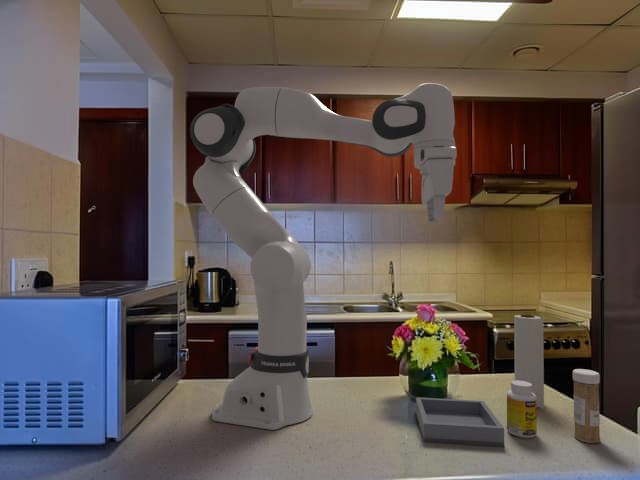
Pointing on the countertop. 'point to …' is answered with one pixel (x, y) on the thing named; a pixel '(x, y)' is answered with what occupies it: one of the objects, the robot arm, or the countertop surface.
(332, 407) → the countertop surface
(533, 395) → the supplement bottle
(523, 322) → the paper towel roll
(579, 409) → the spice jar
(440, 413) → the tray
